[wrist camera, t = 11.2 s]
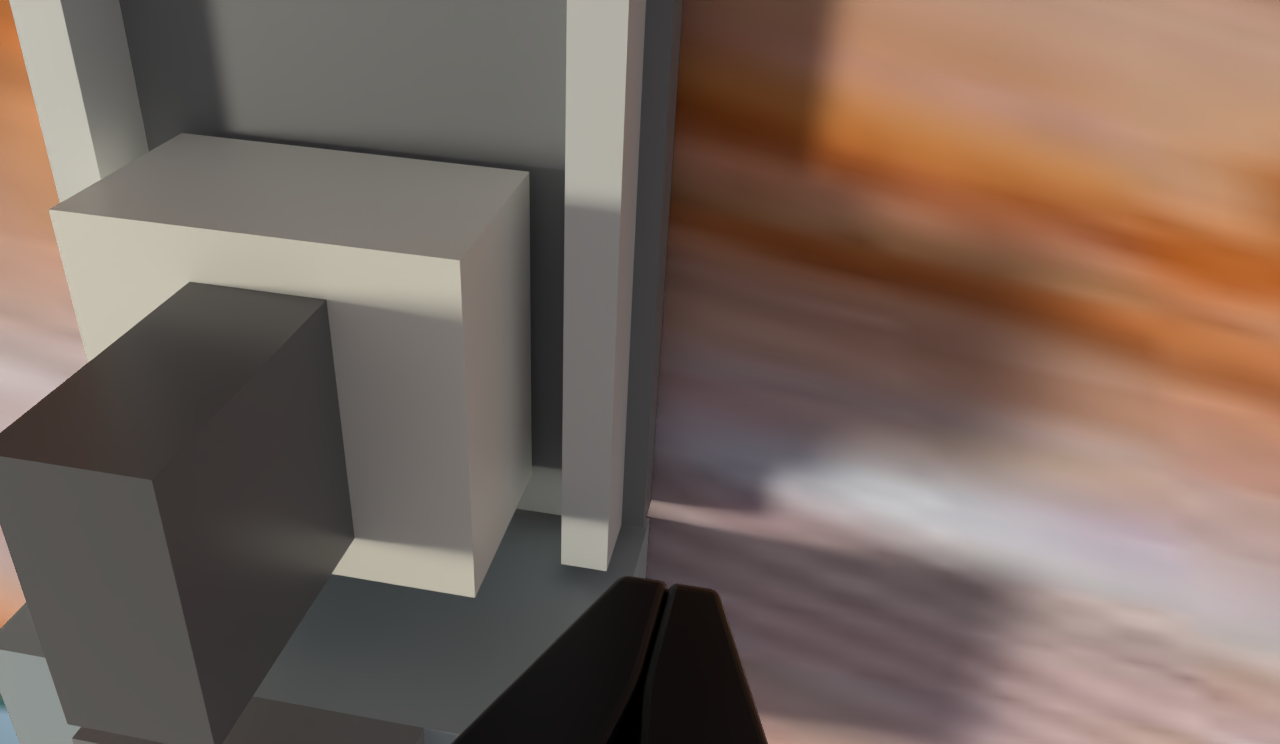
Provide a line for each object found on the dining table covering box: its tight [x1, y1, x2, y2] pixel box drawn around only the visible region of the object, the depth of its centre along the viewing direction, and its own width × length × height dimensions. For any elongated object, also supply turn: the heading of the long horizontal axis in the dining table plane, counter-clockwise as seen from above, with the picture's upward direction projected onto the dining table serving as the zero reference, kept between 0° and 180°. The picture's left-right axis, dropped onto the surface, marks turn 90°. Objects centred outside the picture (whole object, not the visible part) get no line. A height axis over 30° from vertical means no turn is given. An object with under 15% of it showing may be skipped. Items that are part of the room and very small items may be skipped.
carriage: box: [0, 133, 532, 744], centre depth 18 cm, size 7×7×9 cm
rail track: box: [9, 0, 683, 571], centre depth 19 cm, size 12×20×3 cm, turn 178°
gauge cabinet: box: [0, 508, 650, 744], centre depth 24 cm, size 12×6×9 cm, turn 88°
